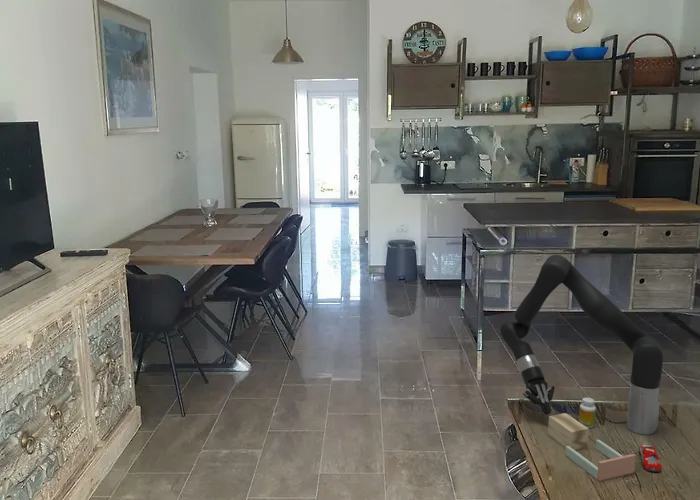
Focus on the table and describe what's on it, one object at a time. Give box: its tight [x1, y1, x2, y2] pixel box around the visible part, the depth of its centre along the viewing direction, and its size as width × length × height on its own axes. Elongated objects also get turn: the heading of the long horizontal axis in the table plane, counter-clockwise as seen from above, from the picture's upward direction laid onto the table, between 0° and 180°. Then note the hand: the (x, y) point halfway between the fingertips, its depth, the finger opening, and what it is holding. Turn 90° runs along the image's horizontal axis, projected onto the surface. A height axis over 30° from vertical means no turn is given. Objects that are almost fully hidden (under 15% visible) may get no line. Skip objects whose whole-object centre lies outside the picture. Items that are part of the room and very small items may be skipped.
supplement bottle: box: [578, 397, 597, 429], centre depth 217 cm, size 5×5×10 cm
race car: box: [638, 444, 663, 473], centre depth 193 cm, size 13×5×4 cm, turn 161°
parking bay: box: [564, 439, 637, 482], centre depth 192 cm, size 13×16×6 cm
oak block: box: [547, 412, 590, 451], centre depth 206 cm, size 7×12×7 cm, turn 19°
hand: (548, 413), depth 216 cm, fingers closed
